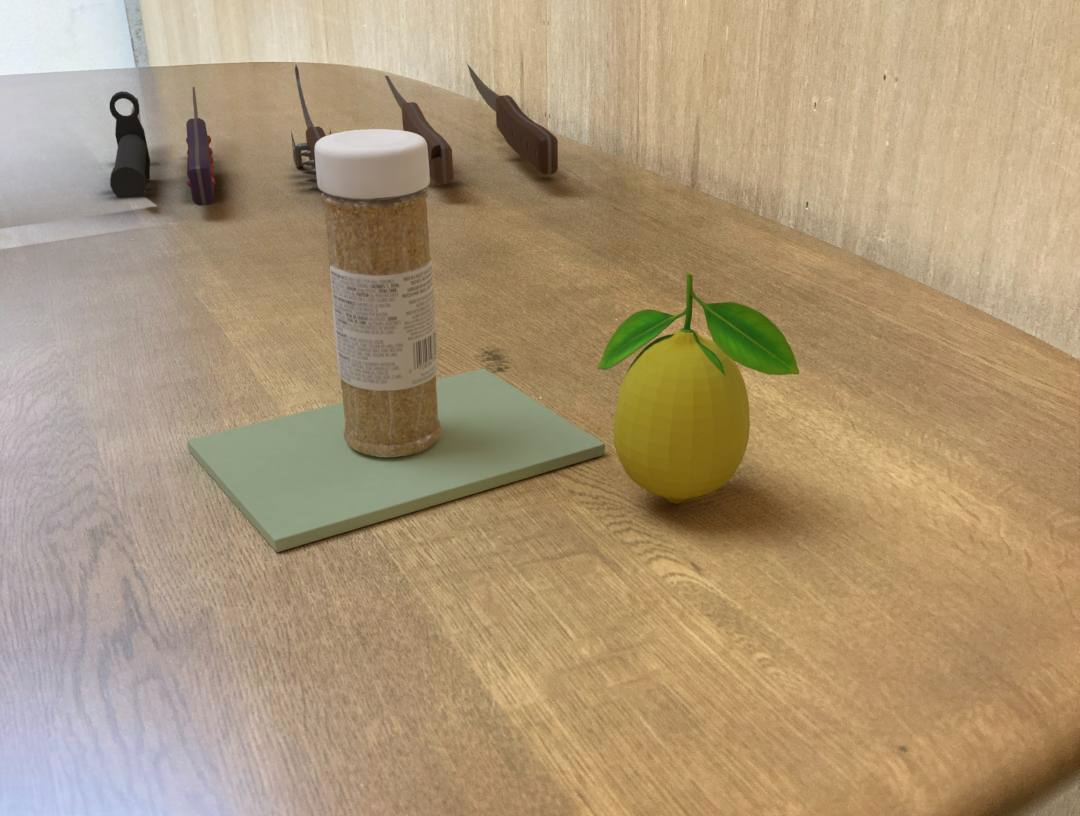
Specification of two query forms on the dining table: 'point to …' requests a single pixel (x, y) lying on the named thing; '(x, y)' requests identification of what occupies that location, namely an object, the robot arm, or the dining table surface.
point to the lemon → (690, 394)
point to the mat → (385, 461)
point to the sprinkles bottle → (381, 287)
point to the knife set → (136, 161)
